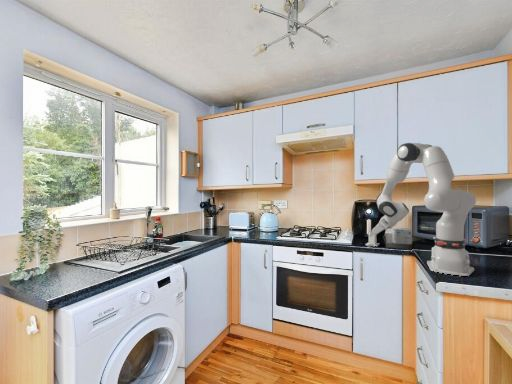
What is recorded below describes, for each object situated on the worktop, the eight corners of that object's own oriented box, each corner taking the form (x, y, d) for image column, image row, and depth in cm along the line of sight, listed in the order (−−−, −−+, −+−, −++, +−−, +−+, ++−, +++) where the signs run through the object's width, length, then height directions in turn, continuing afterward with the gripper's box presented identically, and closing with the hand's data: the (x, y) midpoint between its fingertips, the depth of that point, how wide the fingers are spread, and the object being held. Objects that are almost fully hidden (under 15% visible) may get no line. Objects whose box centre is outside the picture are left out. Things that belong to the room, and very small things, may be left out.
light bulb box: (407, 242, 179) (407, 227, 179) (412, 244, 173) (412, 229, 172) (392, 242, 180) (392, 227, 180) (396, 244, 174) (396, 229, 173)
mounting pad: (376, 246, 168) (376, 245, 168) (365, 245, 172) (365, 244, 172) (379, 244, 174) (379, 243, 174) (369, 242, 179) (368, 242, 179)
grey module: (374, 244, 170) (374, 233, 170) (368, 244, 173) (368, 232, 173) (376, 243, 174) (376, 232, 173) (370, 242, 176) (370, 231, 176)
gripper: (386, 217, 176) (372, 229, 183) (379, 220, 161) (364, 233, 167) (393, 224, 173) (379, 236, 180) (387, 227, 158) (371, 241, 164)
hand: (371, 235), depth 173 cm, fingers open, 8 cm apart
